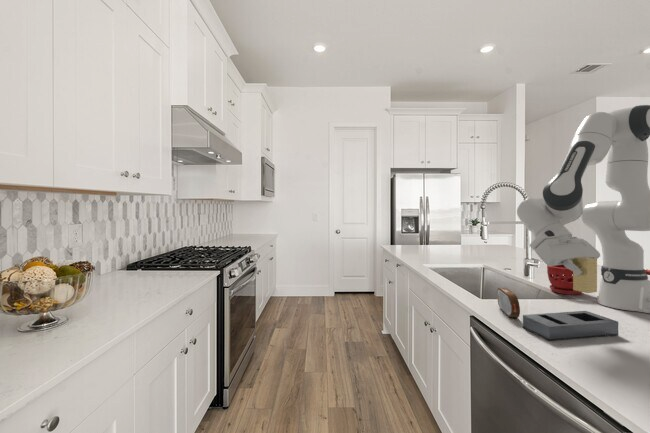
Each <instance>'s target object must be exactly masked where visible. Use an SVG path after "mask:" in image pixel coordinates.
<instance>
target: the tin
mask: <svg viewBox="0 0 650 433" xmlns="http://www.w3.org/2000/svg"><path fill="white" fill-rule="evenodd" d="M496 294H497V295H496V296H497V297H496V298H497V304H498V307H499V309H500V311H502V312H503V313H504V314H505V315H506V316H507V317H508V318H519V317H520V314H521V307H520V306H521V305H520V302H519V299H518V296H517V295H516V293H515V292H514V291H512V290H511V289H509V288H508V287H507V286H505V287H499V288H497V291H496Z"/></svg>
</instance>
